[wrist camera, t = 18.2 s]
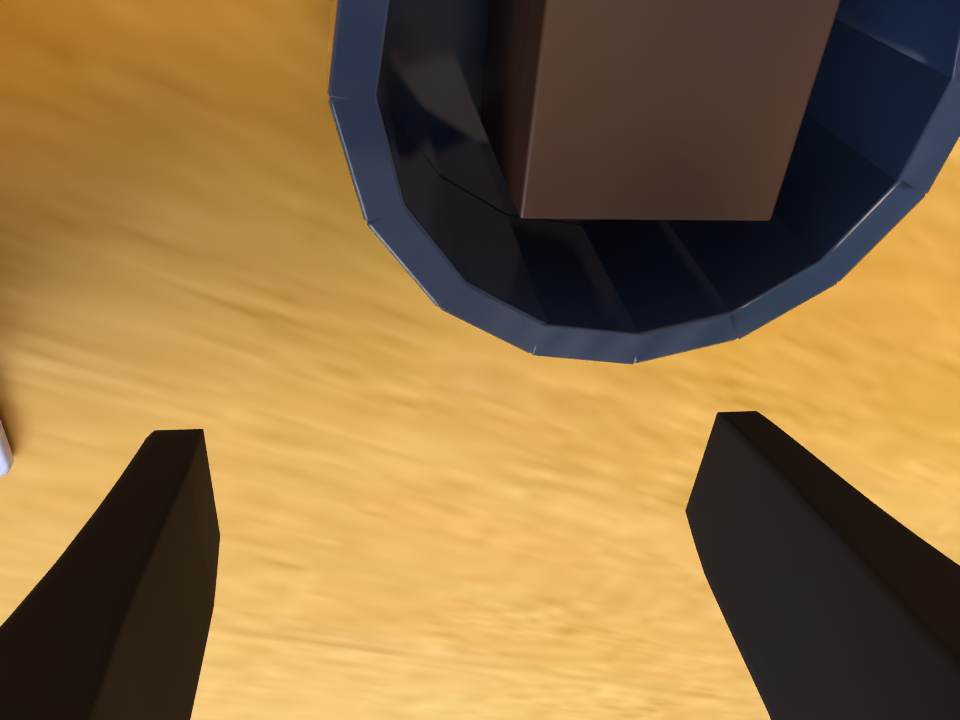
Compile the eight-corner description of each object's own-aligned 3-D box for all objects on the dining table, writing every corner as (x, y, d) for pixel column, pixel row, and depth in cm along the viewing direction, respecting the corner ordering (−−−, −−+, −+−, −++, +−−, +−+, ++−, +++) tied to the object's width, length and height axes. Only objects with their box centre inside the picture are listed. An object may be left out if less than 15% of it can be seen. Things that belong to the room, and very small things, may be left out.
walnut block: (480, 123, 19) (519, 220, 15) (500, -126, 16) (555, -88, 12) (683, 129, 20) (771, 222, 16) (738, -107, 17) (864, -66, 13)
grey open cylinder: (405, 285, 22) (422, 414, 17) (253, -252, 15) (219, -258, 10) (827, 186, 22) (949, 291, 17) (880, -397, 15) (1107, -462, 10)
